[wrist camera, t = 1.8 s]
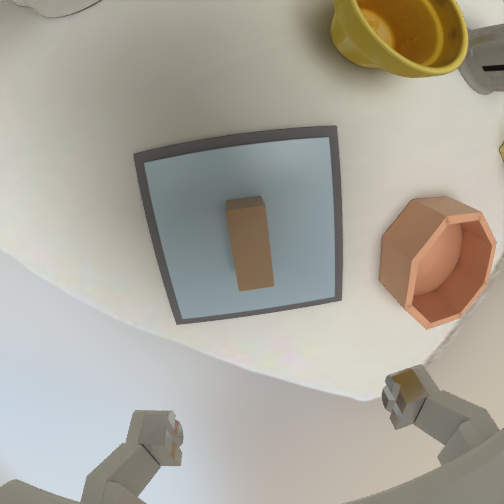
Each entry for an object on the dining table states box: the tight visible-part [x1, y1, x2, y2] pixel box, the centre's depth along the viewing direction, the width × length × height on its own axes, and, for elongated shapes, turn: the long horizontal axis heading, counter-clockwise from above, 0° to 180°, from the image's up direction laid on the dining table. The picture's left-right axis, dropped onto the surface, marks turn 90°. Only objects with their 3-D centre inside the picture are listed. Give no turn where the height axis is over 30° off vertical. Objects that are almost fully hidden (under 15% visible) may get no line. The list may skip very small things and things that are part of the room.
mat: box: [133, 126, 343, 325], centre depth 27 cm, size 18×18×1 cm
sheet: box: [144, 137, 335, 319], centre depth 25 cm, size 16×16×4 cm
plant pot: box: [330, 0, 468, 78], centre depth 16 cm, size 10×10×10 cm
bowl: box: [379, 196, 497, 330], centre depth 27 cm, size 13×13×6 cm
